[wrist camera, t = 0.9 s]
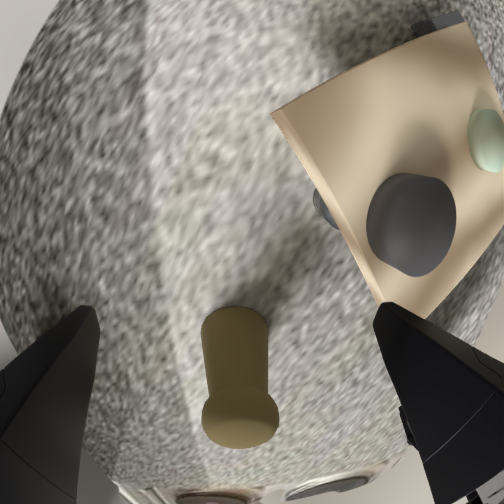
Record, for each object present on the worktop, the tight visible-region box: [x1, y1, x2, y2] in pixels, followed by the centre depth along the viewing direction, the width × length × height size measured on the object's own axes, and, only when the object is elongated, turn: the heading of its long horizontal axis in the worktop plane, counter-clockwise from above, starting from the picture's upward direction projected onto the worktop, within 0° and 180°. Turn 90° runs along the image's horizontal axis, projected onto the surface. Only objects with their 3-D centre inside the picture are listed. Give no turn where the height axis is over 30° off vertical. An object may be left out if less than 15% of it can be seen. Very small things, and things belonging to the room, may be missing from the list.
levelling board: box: [270, 22, 504, 319], centre depth 14 cm, size 16×18×4 cm
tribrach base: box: [313, 11, 464, 230], centre depth 19 cm, size 18×20×3 cm
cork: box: [201, 306, 279, 449], centre depth 21 cm, size 6×6×11 cm
